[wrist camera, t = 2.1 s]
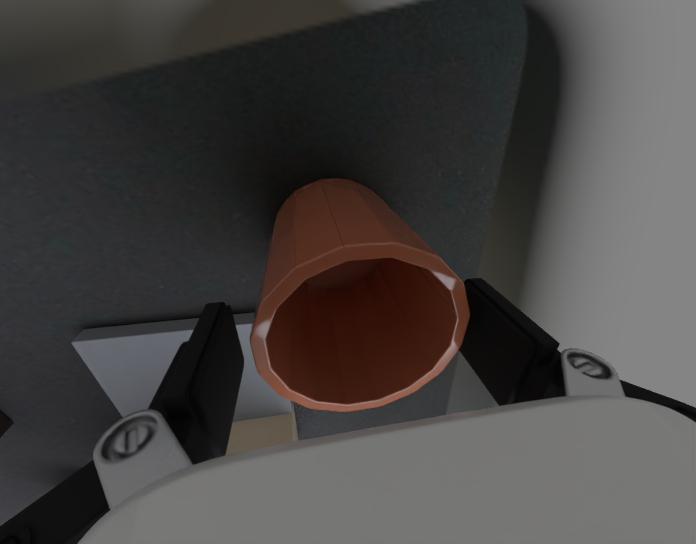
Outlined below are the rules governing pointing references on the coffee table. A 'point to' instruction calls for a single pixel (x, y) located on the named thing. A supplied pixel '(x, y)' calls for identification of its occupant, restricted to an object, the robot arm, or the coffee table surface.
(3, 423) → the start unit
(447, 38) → the coffee table surface
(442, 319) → the cup
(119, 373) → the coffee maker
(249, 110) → the coffee table surface
